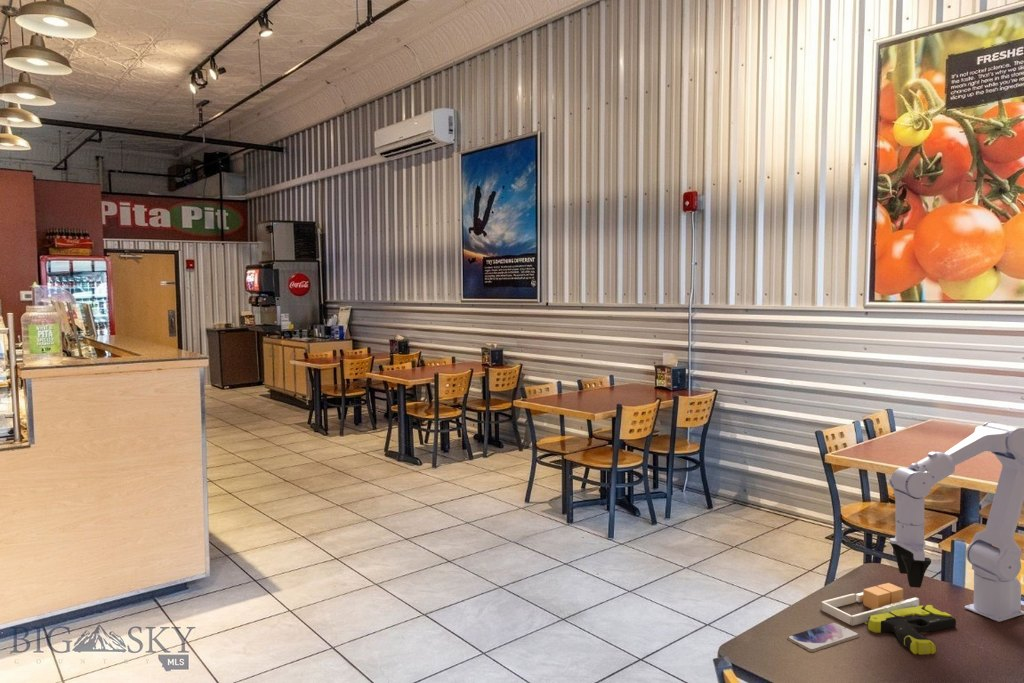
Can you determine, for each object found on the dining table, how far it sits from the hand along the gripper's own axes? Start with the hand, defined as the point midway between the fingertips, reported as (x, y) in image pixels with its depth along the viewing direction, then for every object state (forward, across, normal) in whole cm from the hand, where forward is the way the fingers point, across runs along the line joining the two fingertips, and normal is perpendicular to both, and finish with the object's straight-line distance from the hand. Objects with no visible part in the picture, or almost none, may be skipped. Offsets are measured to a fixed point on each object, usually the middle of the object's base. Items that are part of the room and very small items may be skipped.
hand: (909, 579), depth 155 cm
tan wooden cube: (+9, -5, -6) cm, 12 cm away
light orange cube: (+9, -8, -2) cm, 13 cm away
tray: (+9, -1, -12) cm, 15 cm away
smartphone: (+10, +13, -20) cm, 26 cm away
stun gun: (+10, +7, +1) cm, 12 cm away
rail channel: (+9, -8, -3) cm, 12 cm away
